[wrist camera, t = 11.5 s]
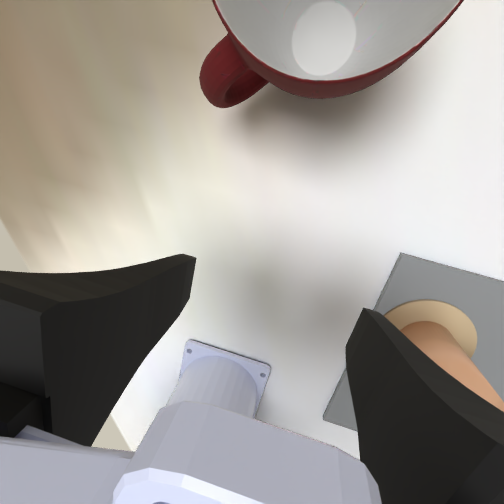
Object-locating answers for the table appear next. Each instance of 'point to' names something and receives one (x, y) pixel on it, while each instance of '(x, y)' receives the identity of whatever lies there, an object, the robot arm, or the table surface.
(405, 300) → the felt mat
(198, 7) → the table surface
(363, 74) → the mug
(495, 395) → the terracotta cylinder
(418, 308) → the cork pad
